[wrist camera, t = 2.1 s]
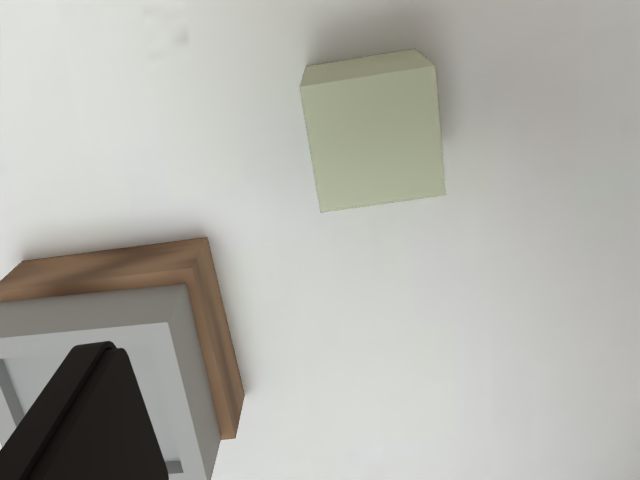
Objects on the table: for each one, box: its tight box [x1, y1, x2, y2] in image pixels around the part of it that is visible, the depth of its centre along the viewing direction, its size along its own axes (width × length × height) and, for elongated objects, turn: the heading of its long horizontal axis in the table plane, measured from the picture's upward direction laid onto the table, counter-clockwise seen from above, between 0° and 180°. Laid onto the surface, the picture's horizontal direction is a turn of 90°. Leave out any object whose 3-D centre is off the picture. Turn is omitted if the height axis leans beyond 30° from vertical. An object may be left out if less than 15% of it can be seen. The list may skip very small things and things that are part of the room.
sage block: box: [300, 49, 446, 213], centre depth 26 cm, size 5×5×6 cm
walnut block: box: [0, 237, 244, 440], centre depth 32 cm, size 10×10×4 cm
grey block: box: [0, 284, 221, 480], centre depth 29 cm, size 9×9×4 cm
